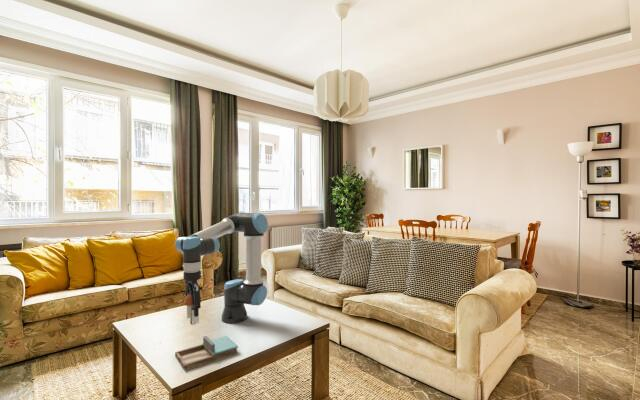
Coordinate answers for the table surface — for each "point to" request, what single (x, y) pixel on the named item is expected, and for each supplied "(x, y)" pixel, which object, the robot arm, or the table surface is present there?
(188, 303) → the mushroom
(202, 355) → the board
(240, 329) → the table surface
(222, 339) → the lid
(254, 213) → the robot arm
